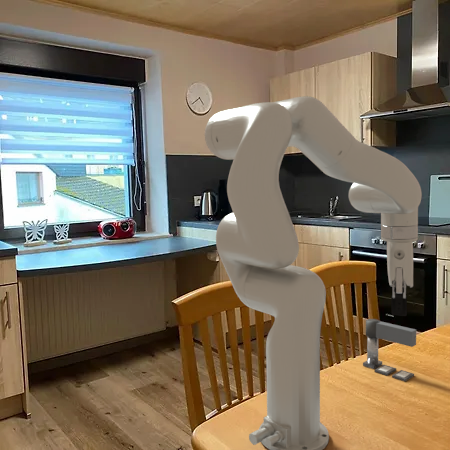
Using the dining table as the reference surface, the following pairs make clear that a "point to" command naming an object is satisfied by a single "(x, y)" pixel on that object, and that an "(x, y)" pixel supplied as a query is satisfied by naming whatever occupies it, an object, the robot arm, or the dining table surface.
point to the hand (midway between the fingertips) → (399, 314)
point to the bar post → (372, 353)
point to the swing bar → (390, 332)
